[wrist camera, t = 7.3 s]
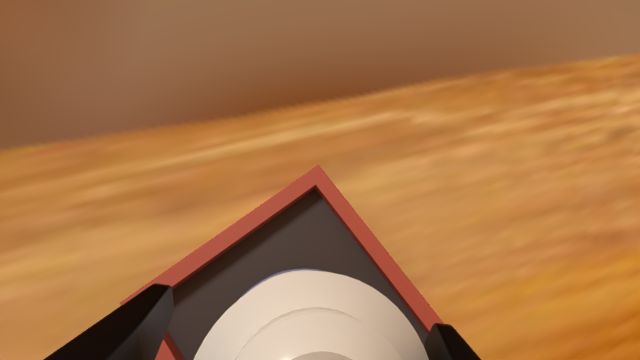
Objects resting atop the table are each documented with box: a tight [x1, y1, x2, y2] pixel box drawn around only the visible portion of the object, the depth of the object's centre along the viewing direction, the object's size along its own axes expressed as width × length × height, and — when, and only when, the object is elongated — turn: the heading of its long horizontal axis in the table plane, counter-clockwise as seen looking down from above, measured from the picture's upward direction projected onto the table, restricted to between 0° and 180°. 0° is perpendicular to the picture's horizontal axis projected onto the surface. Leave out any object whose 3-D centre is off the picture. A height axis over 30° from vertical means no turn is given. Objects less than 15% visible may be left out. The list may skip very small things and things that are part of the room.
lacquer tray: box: [120, 165, 444, 360], centre depth 16 cm, size 12×12×2 cm
